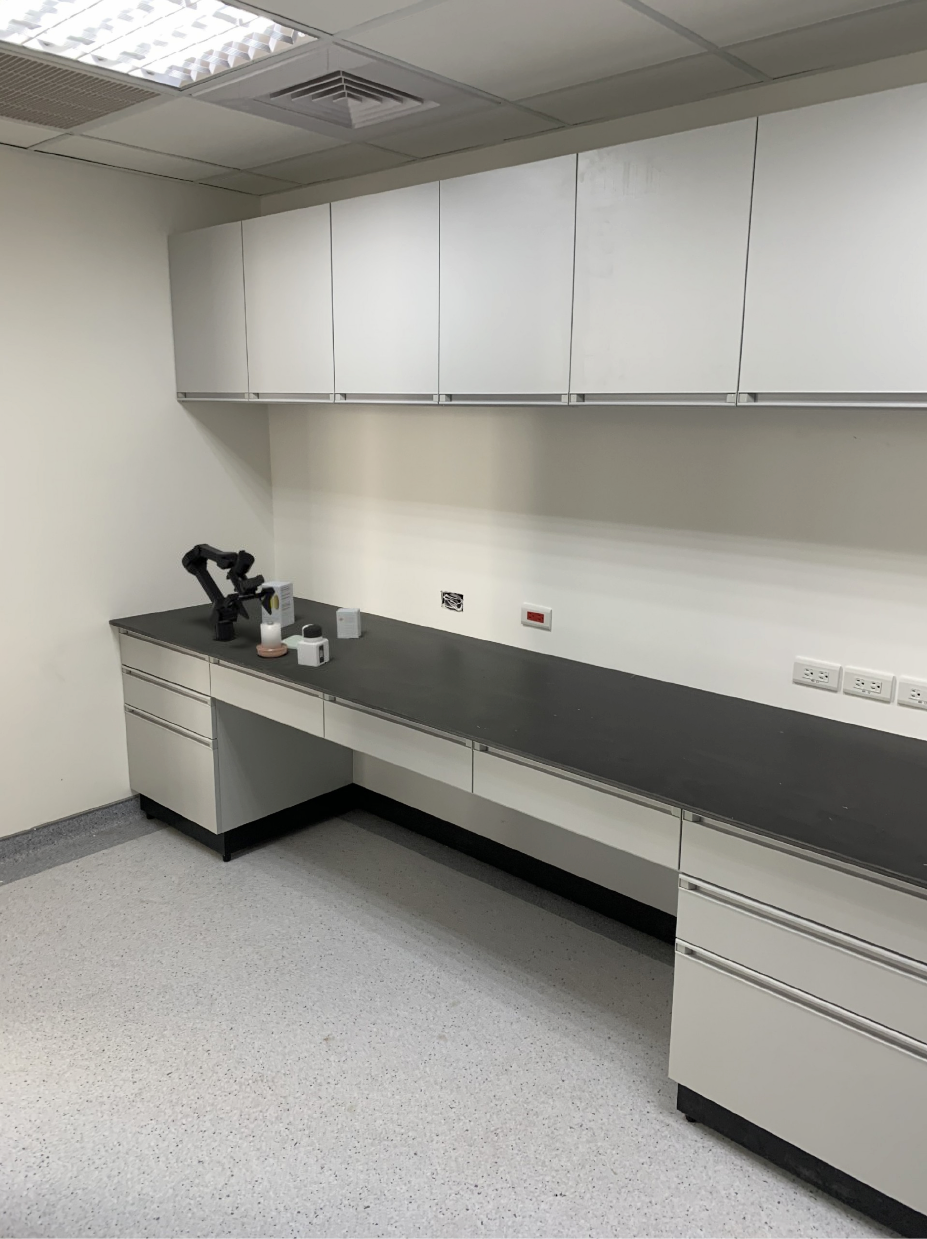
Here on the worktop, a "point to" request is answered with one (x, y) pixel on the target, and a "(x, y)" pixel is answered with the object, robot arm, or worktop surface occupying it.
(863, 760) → the worktop surface
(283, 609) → the supplement box
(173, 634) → the worktop surface
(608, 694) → the worktop surface
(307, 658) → the container
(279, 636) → the bottle
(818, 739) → the worktop surface
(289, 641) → the mat
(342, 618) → the small box
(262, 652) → the bowl
